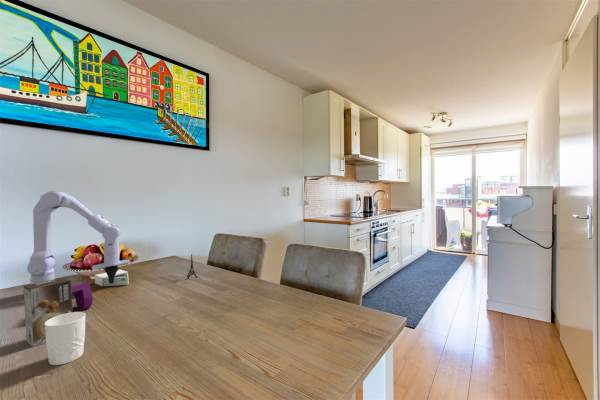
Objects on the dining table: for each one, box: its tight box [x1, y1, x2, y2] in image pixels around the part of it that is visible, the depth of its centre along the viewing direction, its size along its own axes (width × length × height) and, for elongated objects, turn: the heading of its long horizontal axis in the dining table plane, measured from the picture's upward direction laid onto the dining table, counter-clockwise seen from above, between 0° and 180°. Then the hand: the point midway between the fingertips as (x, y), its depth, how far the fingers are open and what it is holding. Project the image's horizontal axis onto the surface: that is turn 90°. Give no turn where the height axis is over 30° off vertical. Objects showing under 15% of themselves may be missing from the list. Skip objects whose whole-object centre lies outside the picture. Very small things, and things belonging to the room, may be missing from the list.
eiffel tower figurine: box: [186, 253, 199, 280], centre depth 136 cm, size 15×10×13 cm
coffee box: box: [23, 277, 73, 348], centre depth 79 cm, size 9×6×16 cm
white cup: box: [44, 311, 86, 366], centre depth 69 cm, size 8×8×10 cm
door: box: [101, 276, 130, 288], centre depth 124 cm, size 1×11×4 cm, turn 100°
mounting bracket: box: [71, 281, 93, 311], centre depth 99 cm, size 9×8×18 cm
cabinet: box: [94, 269, 129, 287], centre depth 131 cm, size 8×11×4 cm
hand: (111, 282), depth 123 cm, fingers closed, pressing on door
